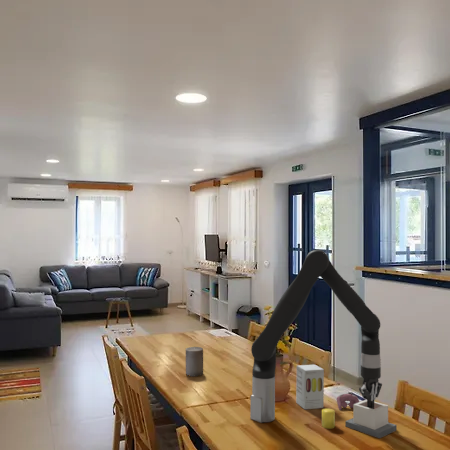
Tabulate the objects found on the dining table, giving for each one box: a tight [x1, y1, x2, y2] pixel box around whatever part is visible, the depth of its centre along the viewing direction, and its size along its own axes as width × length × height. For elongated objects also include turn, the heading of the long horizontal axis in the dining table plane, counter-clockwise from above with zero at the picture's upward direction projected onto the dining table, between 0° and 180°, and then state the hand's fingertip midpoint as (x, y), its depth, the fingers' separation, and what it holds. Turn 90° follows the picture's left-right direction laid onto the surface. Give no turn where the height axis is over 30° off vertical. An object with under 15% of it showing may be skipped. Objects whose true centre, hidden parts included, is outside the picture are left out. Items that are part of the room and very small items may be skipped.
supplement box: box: [295, 364, 325, 410], centre depth 213 cm, size 10×9×17 cm
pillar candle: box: [185, 346, 204, 377], centre depth 261 cm, size 10×10×15 cm
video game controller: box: [336, 393, 360, 411], centre depth 210 cm, size 10×5×7 cm, turn 93°
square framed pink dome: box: [344, 399, 398, 439], centre depth 187 cm, size 12×15×9 cm
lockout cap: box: [321, 408, 336, 430], centre depth 189 cm, size 5×5×6 cm
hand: (370, 409), depth 187 cm, fingers closed
